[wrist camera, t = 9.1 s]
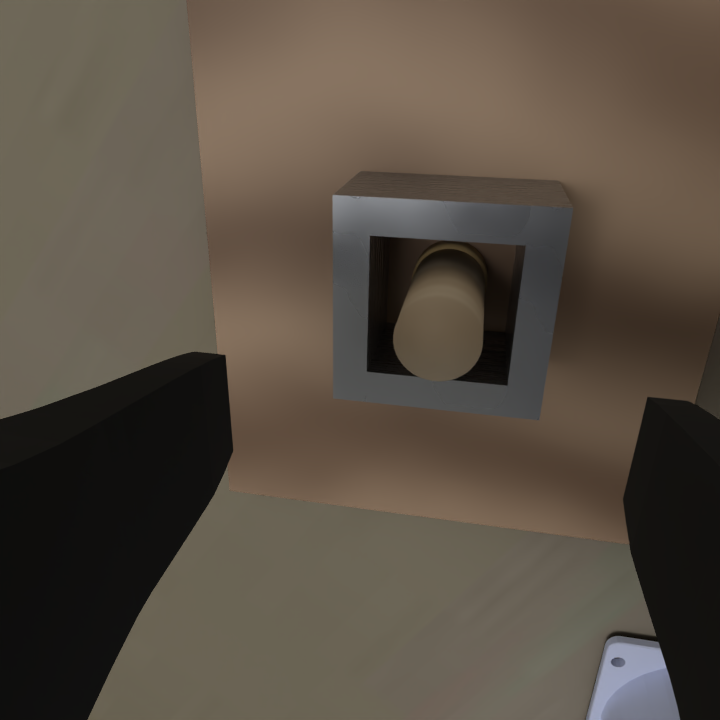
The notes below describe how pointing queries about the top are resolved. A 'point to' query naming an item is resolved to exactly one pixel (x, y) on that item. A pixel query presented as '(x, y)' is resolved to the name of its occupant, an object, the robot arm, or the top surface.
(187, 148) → the top surface
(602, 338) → the board
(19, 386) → the top surface
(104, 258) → the top surface
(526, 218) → the collar
